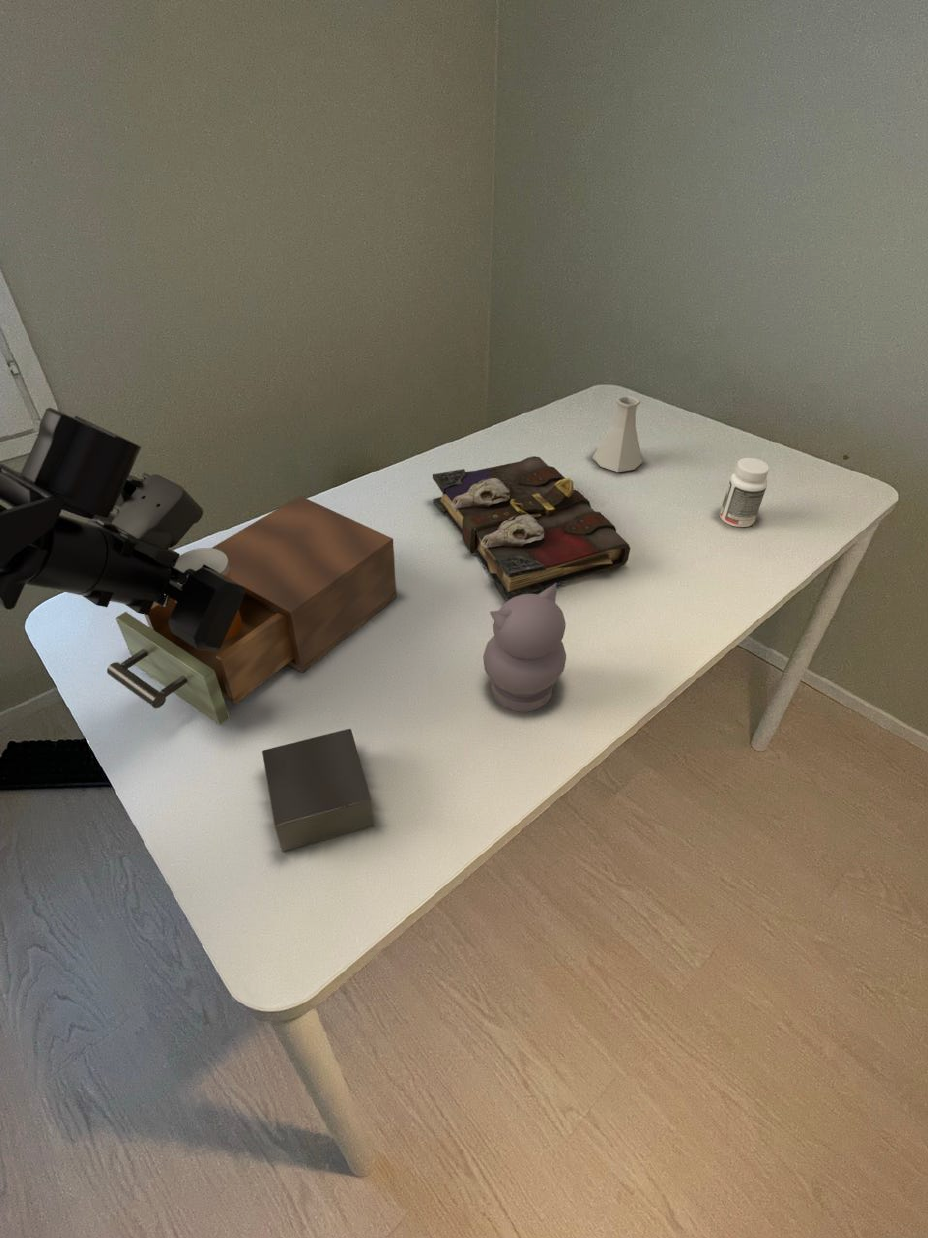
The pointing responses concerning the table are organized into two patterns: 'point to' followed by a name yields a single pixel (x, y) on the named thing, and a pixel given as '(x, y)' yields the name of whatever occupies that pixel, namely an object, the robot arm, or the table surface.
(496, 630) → the cat figurine
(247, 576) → the cabinet
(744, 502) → the pill bottle
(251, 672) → the drawer
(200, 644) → the robot arm
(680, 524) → the table surface
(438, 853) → the table surface
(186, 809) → the table surface
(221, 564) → the amber jar
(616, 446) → the flask
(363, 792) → the stand
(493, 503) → the book
